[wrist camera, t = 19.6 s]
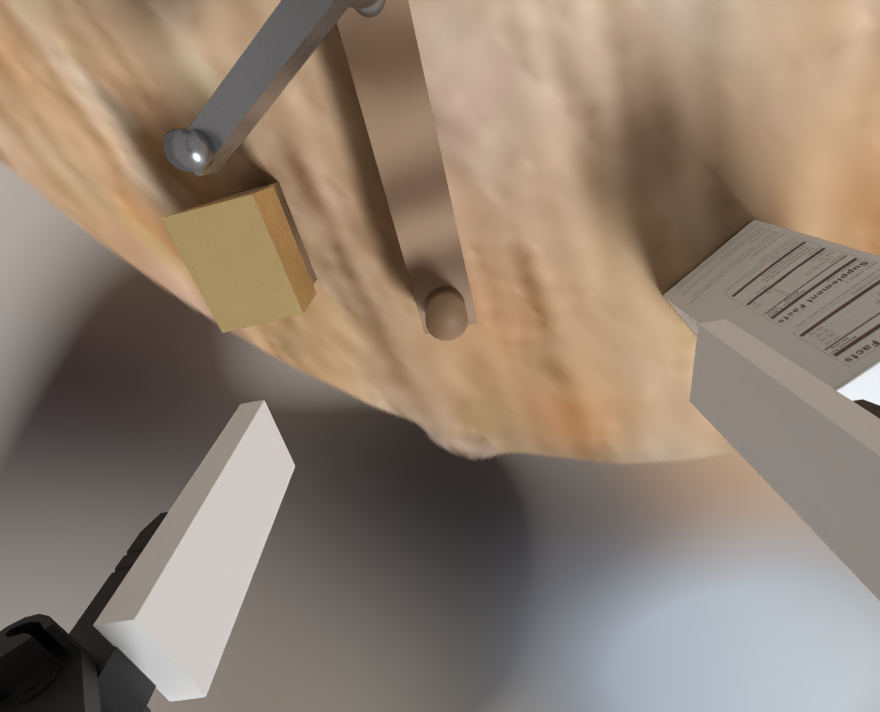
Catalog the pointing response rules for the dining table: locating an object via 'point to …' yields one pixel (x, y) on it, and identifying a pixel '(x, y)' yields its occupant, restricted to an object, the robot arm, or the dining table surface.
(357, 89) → the body
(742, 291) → the supplement box
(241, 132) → the lever
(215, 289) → the gold metallic block
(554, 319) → the dining table surface
